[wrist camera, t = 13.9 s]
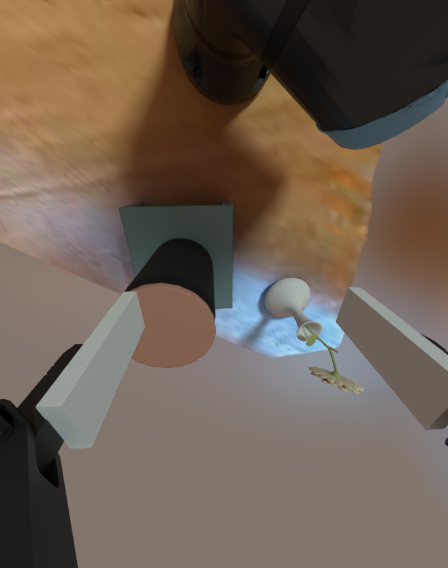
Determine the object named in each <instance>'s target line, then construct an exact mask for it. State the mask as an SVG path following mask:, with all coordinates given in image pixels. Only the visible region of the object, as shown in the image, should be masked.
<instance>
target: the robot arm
mask: <svg viewBox="0 0 448 568" xmlns="http://www.w3.org/2000/svg"><path fill="white" fill-rule="evenodd" d="M173 23H174V33H175V38H176V43H177V47H178V52H179V55H180V59H181V62H182V64H183V67H184V69H185V71H186V73H187V75H188V77H189V78H190V80H191V82H192V83H193V84H194V86H195V87H196V88H197V89H198V90H199V91H200V92H201V93H202V94H203V95H204V96H206V97H207V98H209V99H210V100H212V101H214V102H217V103H221V104H228V105H230V104H237V103H241V102H243V101H246V100H247V99H249V98H251V97H252V96H253V95H255V94H256V93H257V92H258V91H259V90H260V89H261V87H262V86H263V85H264V84H265V82H266V81H267V79H268V77H269V75H270V74H272V75H273V76H274V78H275V79H276V80H277V81H278V82H279V83H280V84H281V85H282V86H283V87H284V88H285V90H286V91H287V92H288V93H289V94H290V95H291V96H292V97H293V98H294V99H295V100H296V102H297V103H298V104H299V105H300V106H301V107H302V108H303V109H304V110H305V111H306V112H307V114H308V115H309V116H310V117H311V118H312V119H313V120H314V121H315V122H316V126H317V128H318V129H319V130H320V131H321V132H322V133H325V134H327V135H328V136H329V137H330V138H331V139H332V140H333V141H334V142H335V143H336V144H338V145H339V146H340V147H342V148H347V149H352V150H357V149H363V148H368V147H371V146H374V145H377V144H380V143H382V142H384V141H386V140H389V139H391V138H393V137H395V136H396V135H399V134H400V133H402V132H404V131H406V130H407V129H409V128H411V127H412V126H414V125H416V124H417V123H419V122H420V121H422V120H423V119H425V118H426V117H428V116H429V115H430V114H432V113H433V112H434V111H435V110H437V109H438V108H440V107H441V106H442V105H443V104H444V102H445V98H447V97H448V0H174V2H173ZM336 323H337V324H338V325H339V326H340V327H341V329H342V330H343V331H344V332H345V333H346V334H347V336H348V337H349V338H350V339H351V340H352V342H353V343H354V344H355V345H356V347H357V348H358V349H359V350H360V351H361V353H362V354H363V355H364V356H365V357H366V359H367V360H368V361H369V362H370V363H371V365H372V366H373V367H374V368H375V369H376V370H377V372H378V373H379V374H380V375H381V377H382V378H383V379H384V380H385V381H386V383H387V384H388V385H389V386H390V387H391V389H392V390H393V391H394V392H395V393H396V395H397V396H398V397H399V398H400V399H401V401H402V402H403V403H404V404H405V406H406V407H407V408H408V409H409V410H410V412H411V413H412V414H413V415H414V416H415V418H416V419H417V420H418V421H419V422H420V424H421V425H422V426H423V427H424V428H425V430H429V429H444V428H445V427H446V426H447V425H448V352H446V349H444V348H443V347H442V346H440V345H439V344H438V343H436V342H435V341H433V340H431V339H430V338H428V337H426V336H424V335H422V334H420V333H418V332H417V331H416V330H415V329H413V328H412V327H411V326H409V325H408V324H407V323H405V322H404V321H403V320H402V319H400V318H399V317H398V316H396V315H395V314H394V313H392V312H391V311H390V310H389V309H387V308H386V307H385V306H383V305H382V304H381V303H380V302H378V301H377V300H376V299H374V298H373V297H372V296H370V295H369V294H368V293H367V292H365V291H364V290H363V289H361V288H359V287H358V288H348V290H347V293H346V295H345V298H344V301H343V303H342V306H341V309H340V312H339V314H338V317H337V320H336ZM144 328H145V324H144V320H143V316H142V312H141V308H140V304H139V300H138V296H137V292H123V293H122V294H121V296H120V297H119V298H118V300H117V301H116V302H115V303H114V305H113V306H112V308H111V309H110V310H109V312H108V313H107V314H106V315H105V317H104V318H103V319H102V321H101V322H100V323H99V324H98V326H97V327H96V328H95V330H94V331H93V333H92V334H91V335H90V336H89V338H88V339H87V340H86V342H85V343H84V344H75V345H74V346H72V347H71V348H70V349H68V350H67V351H66V352H65V353H63V354H62V355H61V357H60V358H59V359H58V360H57V361H56V363H55V364H54V366H52V367H51V369H50V370H49V371H48V372H47V375H45V376H44V377H43V378H42V379H41V381H40V382H39V383H38V384H37V385H36V387H35V388H34V389H33V390H32V391H31V392H30V394H29V395H28V396H27V397H26V398H25V400H24V401H23V402H22V403H21V404H20V406H19V407H18V408H16V407H15V405H14V404H13V403H12V402H11V401H9V400H6V399H0V568H78V566H77V559H76V553H75V547H74V540H73V535H72V528H71V522H70V516H69V509H68V503H67V497H66V490H65V484H64V478H63V472H62V466H61V460H60V456H59V454H58V451H59V449H60V447H61V446H62V444H63V442H65V443H66V445H67V446H68V447H69V448H70V449H75V448H91V447H92V445H93V443H94V440H95V438H96V436H97V434H98V431H99V429H100V427H101V424H102V422H103V420H104V418H105V416H106V413H107V411H108V409H109V407H110V404H111V402H112V400H113V398H114V395H115V393H116V391H117V389H118V386H119V384H120V382H121V380H122V377H123V375H124V373H125V371H126V368H127V366H128V364H129V362H130V359H131V357H132V355H133V353H134V351H135V348H136V346H137V344H138V342H139V339H140V337H141V335H142V333H143V330H144ZM445 445H447V446H448V438H447V439H446V440H445Z"/></svg>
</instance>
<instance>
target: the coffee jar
mask: <svg viewBox="0 0 448 568" xmlns="http://www.w3.org/2000/svg"><path fill="white" fill-rule="evenodd" d="M124 292H137V296H138V300H139V304H140V308H141V312H142V316H143V320H144V324H145V328H144V330H143V333H142V335H141V337H140V339H139V342H138V344H137V346H136V348H135V351H134V353H133V355H132V357H131V358H132V359H134V360H135V361H137V362H139V363H143V364H146V365H149V366H153V367H163V368H170V367H179V366H184V365H186V364H189V363H192V362H195V361H196V360H198V359H199V358H200V357H202V356H203V355H205V354H206V353H207V351H208V350H209V348H210V347H211V346H212V344H213V341H214V338H215V334H216V328H215V321H214V320H215V295H214V274H213V263H212V259H211V257H210V255H209V253H208V251H207V250H206V249H205V248H204V247H203V246H202V245H201V244H199V243H197V242H195V241H193V240H190V239H185V238H176V239H171V240H169V241H166V242H164V243H163V244H162V245H161V246H160V247H159V248H158V249H157V250H156V251H155V252H154V253H153V255H152V256H151V257H150V259H149V260H148V261H147V263H146V264H145V265H144V266H143V268H142V269H141V270H140V272H139V273H138V274H137V276H136V277H135V278H134V280H133V281H132V282H131V283H130V285H129V286H128V287H127V289H126V290H125V291H124Z"/></svg>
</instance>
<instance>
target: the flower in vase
mask: <svg viewBox="0 0 448 568" xmlns="http://www.w3.org/2000/svg"><path fill="white" fill-rule="evenodd" d="M309 301H310V289H309V287H308V285H307V284H306V283H305V282H304V281H303V280H301V279H298V278H286V279H282V280H280V281H278V282H276V283H275V284H273V285H272V286H271V287H270V289H269V290H268V291H267V293H266V296H265V306H266V308H267V310H268V311H269V312H270V313H271V314H273V315H274V316H276V317H280V318H289V317H294V319H295V321H296V323H297V326H298V330H297V337H298V339H300V340H301V341H307V343H306V345H308V346H311V345H312V344H313V343H314V342H315V340H316V339H318V340H320V341H321V342H322V343H323V344H324V346H326V347H327V348H328V350H329V351H330V354H331V357H332V361H333V365H334V369H335V371H333V372H331V371H328V370H325V369H321V368H317V367H309V369H310V370H311V371H312V373H311V374H312V375H315V376H316V377H320V378H323V379H321V381H322V382H324V383H330V384H332V385H334V386H338V387H339V388H340V389H341V390H342V391H345V392H347V389H346V388H348V389H349V390H351V391H352V392H354V393H356V394H358V395H359V394H360V393H359V392H357V391H360V392H363V391H362V390H364V389H363V388H362V387H361V386H359V385H358V384H356V383H355V382H354V381H352V380H349V379H347V378H345V377H343V376H341V375H339V373H338V372H337V368H336V364H335V360H334V356H333V354H332V352H331V350H333V351H335V352H337V353H338V351H337V350H335V349H333V348H332V347H330V346H327V345H326V344H325V343H324V342H323V341H322V340H321V339H320V338H319V337H318V336H319V335H320V334H321V332H322V325H321V324H320V323H318V322H316V321H311V320H310V319H308V318H307V317H306V316H305V314H304V313H303V312H302V311H303V310H304V309H305V308H306V307H307V305H308V303H309ZM330 349H331V350H330ZM344 386H345V387H346V388H345V387H344ZM361 389H362V390H361Z"/></svg>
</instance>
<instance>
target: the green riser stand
mask: <svg viewBox="0 0 448 568" xmlns="http://www.w3.org/2000/svg"><path fill="white" fill-rule="evenodd" d="M119 211H120V215H121V219H122V223H123V227H124V231H125V235H126V239H127V243H128V247H129V251H130V256H131V260H132V264H133V268H134V272H135V276H137V274H138V273H139V272H140V270H141V269H142V268H143V266H144V265H145V264H146V263H147V261H148V260H149V259H150V257H151V256H152V255H153V253H154V252H155V251H156V250H157V249H158V248H159V247H160V246H161V245H162V244H163V243H164V242H166V241H169V240H171V239H176V238H185V239H190V240H193V241H195V242H197V243H199V244H201V245H202V246H203V247H204V248H205V249H206V250H207V251H208V253H209V255H210V257H211V259H212V263H213V274H214V295H215V309H221V308H232V278H233V205H232V204H231V203H230V202H229V201H221V205H188V206H144V203H134V204H130V205H127V206H124V207H120V208H119Z"/></svg>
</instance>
